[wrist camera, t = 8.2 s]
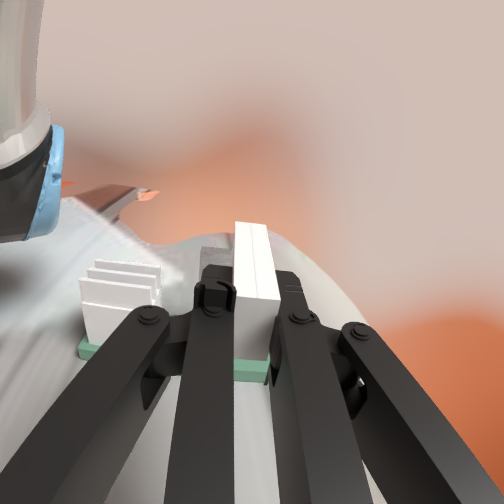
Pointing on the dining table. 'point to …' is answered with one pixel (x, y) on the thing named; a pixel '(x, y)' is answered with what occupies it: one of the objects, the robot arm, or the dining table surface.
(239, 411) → the dining table surface
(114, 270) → the heat-sink mount
